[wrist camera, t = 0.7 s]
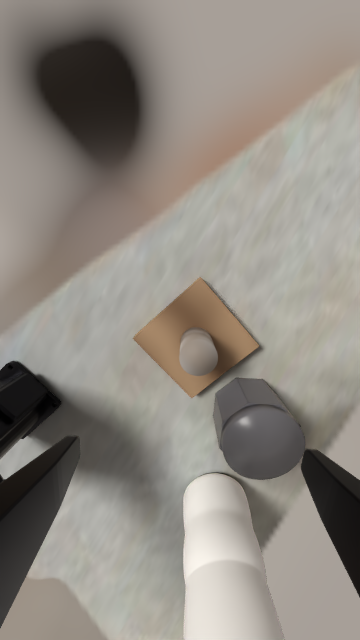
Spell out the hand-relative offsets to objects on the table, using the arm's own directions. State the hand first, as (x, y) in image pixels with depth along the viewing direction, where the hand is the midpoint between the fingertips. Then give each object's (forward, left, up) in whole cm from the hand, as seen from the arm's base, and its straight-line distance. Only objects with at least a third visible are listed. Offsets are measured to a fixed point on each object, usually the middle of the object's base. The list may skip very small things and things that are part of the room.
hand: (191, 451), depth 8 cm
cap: (0, -9, -12) cm, 15 cm away
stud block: (+1, 0, -12) cm, 12 cm away
